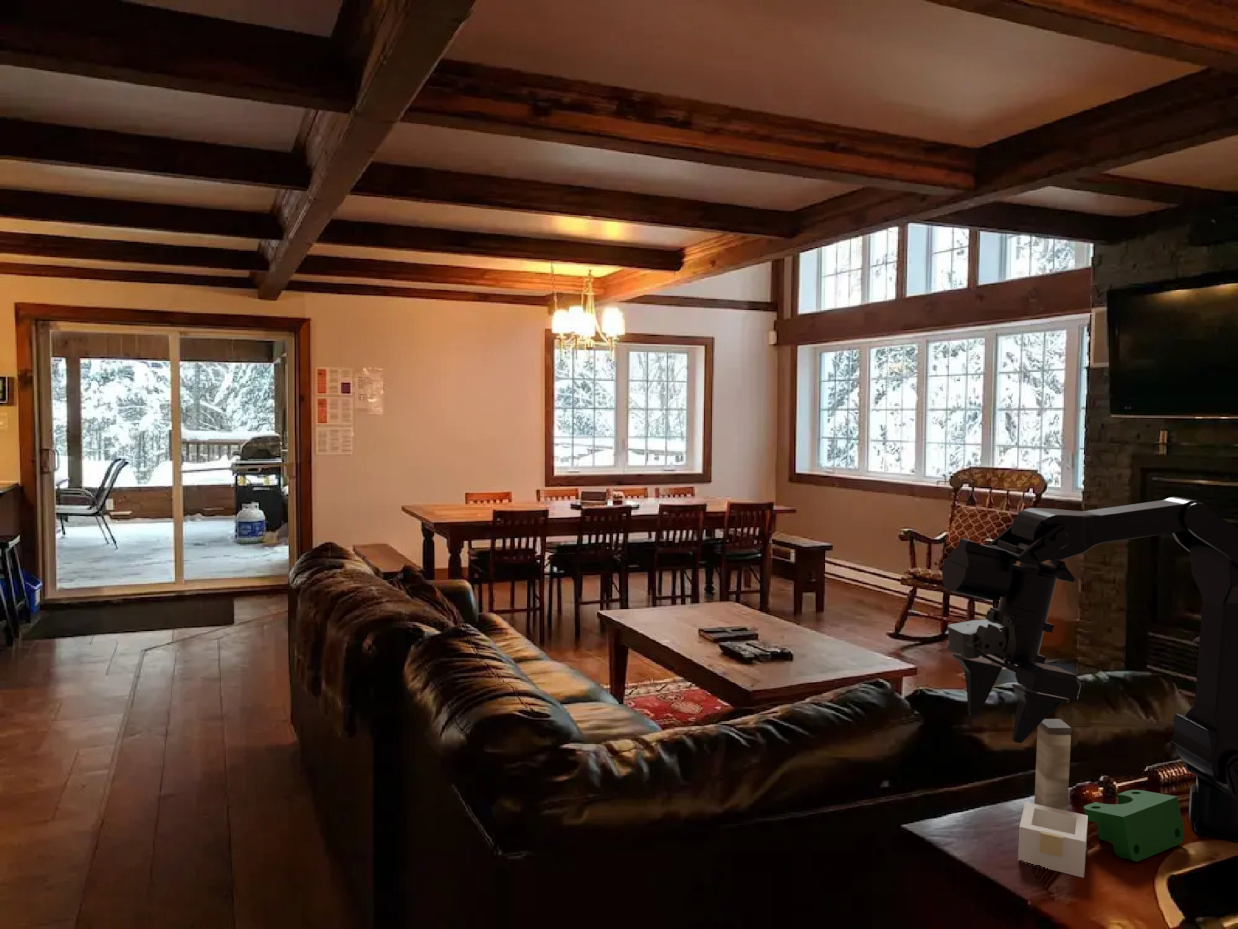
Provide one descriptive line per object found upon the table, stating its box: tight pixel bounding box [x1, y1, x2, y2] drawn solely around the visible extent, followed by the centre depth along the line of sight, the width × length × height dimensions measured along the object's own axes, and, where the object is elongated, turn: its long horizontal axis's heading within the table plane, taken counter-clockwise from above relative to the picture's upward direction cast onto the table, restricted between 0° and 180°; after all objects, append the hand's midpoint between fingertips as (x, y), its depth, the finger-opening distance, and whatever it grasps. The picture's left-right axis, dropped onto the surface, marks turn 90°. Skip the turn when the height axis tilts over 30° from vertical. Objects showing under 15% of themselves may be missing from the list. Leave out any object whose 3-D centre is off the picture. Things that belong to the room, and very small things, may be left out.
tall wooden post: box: [1033, 718, 1072, 811], centre depth 118 cm, size 3×3×13 cm
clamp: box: [1083, 789, 1185, 862], centre depth 112 cm, size 12×6×9 cm, turn 112°
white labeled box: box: [1017, 801, 1089, 878], centre depth 108 cm, size 7×8×5 cm
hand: (993, 728), depth 109 cm, fingers open, 9 cm apart
